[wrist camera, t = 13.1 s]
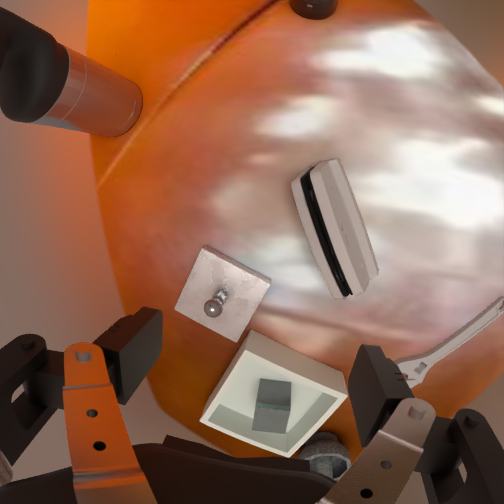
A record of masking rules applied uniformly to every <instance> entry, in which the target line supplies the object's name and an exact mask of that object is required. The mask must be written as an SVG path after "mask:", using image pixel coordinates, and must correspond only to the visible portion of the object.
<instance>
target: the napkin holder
mask: <svg viewBox="0 0 504 504" xmlns="http://www.w3.org/2000/svg"><path fill="white" fill-rule="evenodd" d="M291 188H292V192H293V195H294V199H295V202H296V206H297V209H298V212H299V215H300V218H301V222H302V225H303V228H304V231H305V233H306V236H307V239H308V242H309V244H310V247H311V250H312V252H313V255H314V257H315V260H316V262H317V264H318V267H319V269H320V271H321V274H322V276H323V278H324V280H325V282H326V284H327V286H328V288H329V290H330V292H331V294H332V296H333V298H334V299H346V297H347V296H348V295H349V294H351V295H354V296H358V295H360V294H362V293H365V291H366V288H367V286H368V284H369V281H370V280H371V279H372V278H374V277H375V276H377V275H378V272H379V269H378V265H377V262H376V259H375V256H374V252H373V249H372V246H371V243H370V240H369V237H368V234H367V231H366V228H365V225H364V222H363V219H362V216H361V214H360V211H359V208H358V205H357V203H356V200H355V197H354V194H353V192H352V189H351V187H350V184H349V181H348V179H347V176H346V174H345V171H344V169H343V166H342V164H341V161H340V159H339V158H338V159H333V160H328V161H322V162H320V163H319V164H318V165H317V166H316V167H311V166H310V167H308V168H307V169H305V170H304V171H303V172H301V173H300V174H299V175H298V176H297V177H296V178H295V179H294V180H293V181H291Z"/></svg>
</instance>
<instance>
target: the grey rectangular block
mask: <svg viewBox="0 0 504 504" xmlns="http://www.w3.org/2000/svg"><path fill="white" fill-rule="evenodd" d="M290 412H291V382H288V381H279V380H270V379H262V378H260V382H259V388H258V394H257V399H256V405H255V411H254V418H253V425H252V430H255V431H262V432H271V433H280V434H285V432H286V428H287V424H288V420H289V416H290Z"/></svg>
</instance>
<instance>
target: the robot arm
mask: <svg viewBox="0 0 504 504" xmlns="http://www.w3.org/2000/svg"><path fill="white" fill-rule="evenodd" d="M0 108H1V110H2V112H3V114H4V115H5V116H6V117H7V118H9V119H11V120H13V121H17V122H25V123H32V124H39V125H46V126H52V127H58V128H64V129H70V130H75V131H81V132H86V133H91V134H96V135H101V136H106V137H116V136H119V135H122V134H123V133H125V132H127V131H128V130H129V129H130V128H131V127H132V126H133V125H134V124H135V122H136V120H137V119H138V117H139V115H140V112H141V108H142V95H141V92H140V90H139V88H138V87H137V85H136V84H134V83H133V82H131V81H130V80H128V79H126V78H124V77H122V76H121V75H119V74H117V73H116V72H114V71H112V70H110V69H108V68H106V67H105V66H103V65H101V64H99V63H97V62H95V61H93V60H91V59H90V58H88V57H86V56H84V55H82V54H80V53H77V52H76V51H74V50H72V49H70V48H68V47H66V46H63V45H61V44H60V43H57V41H56V40H55V38H54V37H53V36H52V35H51V34H49V33H48V32H46V31H45V30H42V29H41V28H39V27H37V26H35V25H33V24H32V23H30V22H28V21H26V20H25V19H23V18H21V17H19V16H18V15H15V14H14V13H12V12H10V11H8V10H6V9H4V8H2V7H0ZM162 324H163V314H162V311H161V310H157V309H153V308H149V307H142V308H141V309H140V310H139V311H138V312H137V313H136V314H135V315H128V316H125V317H123V318H120V319H119V320H118V321H117V322H115V323H114V325H113V326H111V327H110V328H109V329H108V330H106V331H105V332H104V333H103V334H102V335H100V336H99V337H98V338H97V339H96V340H95V341H94V342H93V343H87V342H81V343H75V344H72V345H70V346H69V347H67V348H66V350H65V351H64V352H58V351H52V350H47V347H46V342H45V340H44V338H43V337H41V336H39V335H36V334H25V335H21V336H18V337H16V338H15V339H14V340H12V341H11V342H9V343H8V344H7V345H5V346H4V347H3V348H1V349H0V504H395V503H396V501H397V500H398V498H399V497H400V495H401V493H402V491H403V490H404V488H405V486H406V484H407V482H408V480H409V479H410V477H411V475H412V473H413V471H416V472H421V476H422V479H423V483H424V486H425V490H426V494H427V498H428V502H429V504H504V450H503V448H502V446H501V444H500V443H499V441H498V439H497V437H496V436H495V434H494V432H493V430H492V429H491V427H490V425H489V424H488V422H487V420H486V419H485V417H484V416H483V415H482V414H480V413H479V412H477V411H475V410H472V409H461V410H459V411H458V412H457V413H456V415H455V416H454V418H453V419H448V418H443V417H437V416H436V413H435V410H434V409H433V407H432V406H431V405H430V404H428V403H427V402H425V401H423V400H421V399H417V398H415V397H414V395H413V393H412V391H411V390H410V388H409V386H408V384H407V382H406V381H405V378H404V376H403V375H402V373H401V371H400V369H399V367H398V365H397V364H395V363H394V362H393V361H392V360H391V359H390V358H386V357H385V355H384V353H383V351H382V349H381V347H380V346H375V345H365V344H362V345H361V346H360V348H359V350H358V353H357V356H356V359H355V362H354V365H353V368H352V371H351V373H350V376H349V380H348V392H349V396H350V400H351V404H352V408H353V412H354V416H355V420H356V424H357V429H358V433H359V437H360V442H361V446H362V447H366V448H365V449H364V451H363V452H362V453H361V454H360V456H359V457H358V458H357V459H356V461H355V462H354V463H353V464H352V466H351V467H350V468H349V469H348V470H347V471H346V473H345V474H344V475H343V476H342V477H341V478H340V480H339V481H338V482H337V481H335V480H334V479H332V478H330V477H328V476H326V475H324V474H322V473H319V472H316V471H313V470H310V460H304V459H293V458H283V457H258V458H235V457H232V456H229V455H227V454H224V453H222V452H219V451H217V450H215V449H212V448H210V447H207V446H205V445H203V444H200V443H196V442H192V441H188V440H184V439H180V438H177V437H173V436H169V435H166V438H165V439H164V442H163V444H159V443H147V444H138V445H131V442H130V440H129V436H128V433H127V431H126V428H125V424H124V421H123V418H122V415H121V412H120V408H119V405H118V403H119V404H122V405H125V404H126V403H127V401H128V400H129V399H130V397H131V396H132V394H133V393H134V392H135V390H136V389H137V387H138V386H139V384H140V383H141V382H142V380H143V379H144V377H145V376H146V375H147V373H148V372H149V370H150V369H151V368H152V366H153V365H154V363H155V362H156V361H157V359H158V358H159V356H160V353H161V349H162ZM21 384H22V385H23V388H24V392H23V393H22V394H21V395H20V396H19V397H18V398H17V399H16V400H15V401H14V402H13V403H11V398H12V395H13V393H14V391H15V390H16V389H17V388H18V387H19V386H20V385H21ZM58 408H59V409H64V413H65V423H66V431H67V439H68V446H69V452H70V458H71V464H72V466H71V467H67V468H64V469H60V470H57V471H54V472H50V473H46V474H42V475H38V476H34V477H30V478H27V479H22V480H17V481H13V482H11V480H12V477H13V470H12V466H13V465H14V463H15V462H16V460H17V459H18V458H19V457H20V455H21V454H22V453H23V451H24V450H25V449H26V447H27V446H28V445H29V444H30V443H31V441H32V440H33V438H34V437H35V436H36V435H37V434H38V432H39V431H40V430H41V429H42V427H43V426H44V425H45V424H46V422H47V421H48V420H49V419H50V417H51V416H52V415H53V414H54V413H55V411H56V410H57V409H58ZM462 462H463V464H464V466H465V469H466V471H467V478H466V481H465V483H464V482H463V479H462V477H461V474H460V471H459V469H458V467H459V466H460V465H461V463H462Z"/></svg>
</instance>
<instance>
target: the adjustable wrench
mask: <svg viewBox="0 0 504 504" xmlns="http://www.w3.org/2000/svg"><path fill="white" fill-rule="evenodd" d="M502 300H504V297H499V298H498V299H497V300H496V301H494V302H493V303H492V304H491V305H490V306H489V307H487V308H486V309H485V310H484V311H482V312H481V313H480V314H479V315H478V316H476V317H475V318H474V319H473V320H471V321H470V322H469V323H467V324H466V325H465V326H463V327H462V328H461V329H459V330H458V331H457V332H455V333H454V334H453V335H451V336H450V337H449V338H447V339H446V340H444V341H443V342H442V343H440V344H439V345H437V346H436V347H434V348H433V349H431V350H430V351H428V352H426V353H423V354H420V355H416V356H411V357H405V358H400V359H398V360H396V361H394V363H395V364H397V365H398V367H399V369H400V371H401V373H406V374H407V376H405V377H404V378H405V381H406V382H407V384H408V386H409V388H412V387H414V386H415V385H417V384H418V383H419V382H420V383H422V381H423V379H424V378H425V374H426V373H427V371H428V370H429V369H430V367H431V366H432V365H434V364H435V363H436V362H437V361H439V360H440V359H442V358H443V357H445V356H446V355H448V354H449V353H451V352H452V351H454V350H455V349H457V348H458V347H459V346H461V345H462V344H464V343H465V342H466V341H468V340H469V339H470V338H472V337H473V336H475V335H476V334H477V333H478V332H480V331H481V330H482V329H484V328H485V327H486V326H487V325H489V324H490V323H491V322H492V321H494V320H495V319H496V318H497V317H499V316H500V315H501V314H502V313H503V312H504V304H503V306H502V307H501V308H500V309H499V304H500V302H501V301H502Z"/></svg>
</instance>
